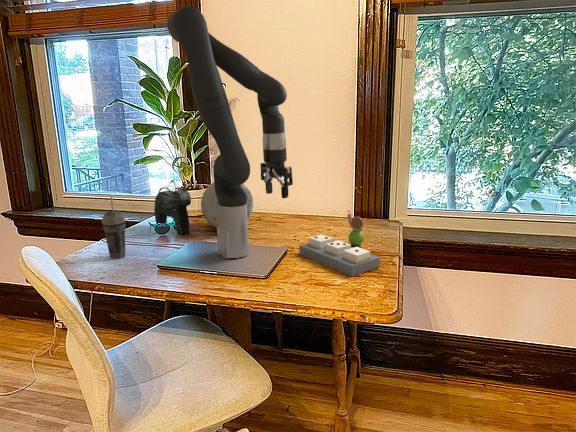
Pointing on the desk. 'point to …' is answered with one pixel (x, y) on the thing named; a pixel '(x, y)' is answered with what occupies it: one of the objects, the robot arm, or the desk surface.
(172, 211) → the dark animal figurine
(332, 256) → the socket board
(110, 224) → the beverage cup
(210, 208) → the moon model
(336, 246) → the tile three dots
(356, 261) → the tile one dot
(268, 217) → the desk surface
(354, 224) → the snail figurine
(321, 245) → the tile two dots
